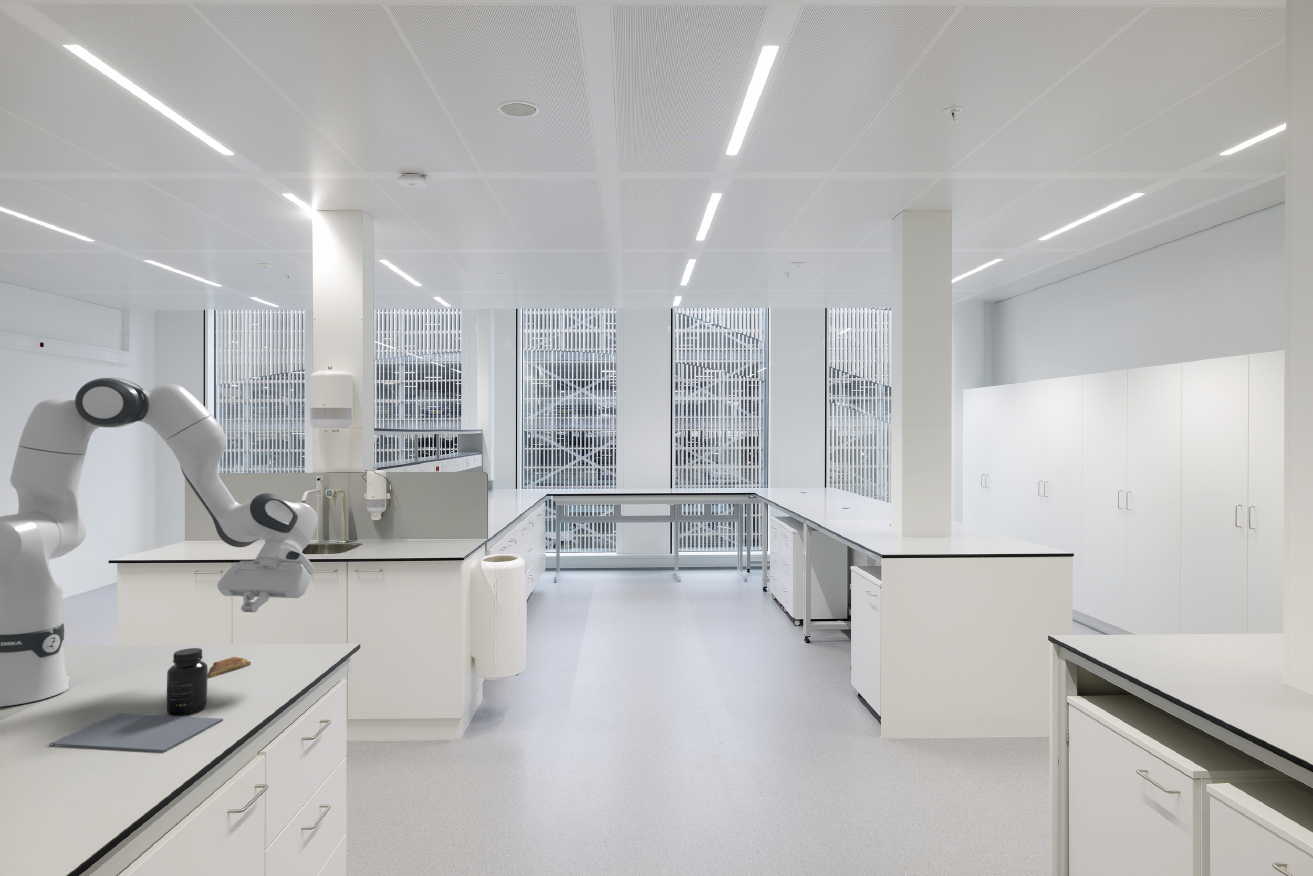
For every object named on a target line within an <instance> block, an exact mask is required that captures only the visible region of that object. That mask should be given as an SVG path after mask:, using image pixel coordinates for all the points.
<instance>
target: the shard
mask: <svg viewBox="0 0 1313 876" xmlns="http://www.w3.org/2000/svg"><path fill="white" fill-rule="evenodd" d="M251 663H252V662H251V661H250V660H249V659H247V658H242V657H237V656H231V657H228V658H225V659H221V660H218V661H215V662H213V663H212V666H211V668H210V672H209V673H208V676H211V677H210V678H213V677H212V676H214V677H216V676H215V675H217V676H219V675H218V674H220V675H222V674H221V673H223V674H225V673H224V672H226V673H228V671H229V672H231V670H232V671H234V669H235V670H238V669H241V668H240V667H242V668H244V667H243V666H245V667H247V666H246V665H248V666H250V665H249V664H251ZM237 668H238V669H237Z"/></svg>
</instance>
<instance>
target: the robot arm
mask: <svg viewBox="0 0 1313 876" xmlns="http://www.w3.org/2000/svg"><path fill="white" fill-rule="evenodd" d="M136 422H142V423H145V424H147V425H149V426H150V427H151V428H152V429H153V430H154V431H155V432H156V433H157V434H158V435H159V436H160V437H161V438H162V440H163V441H164V442H165V443H166V445H167V446H168V447H169V448H170V450H171V451H172V453H173V454H174V456H175V457H176V459H177V461H178V462H179V463H178V464H179V466H180V470H181V472H182V475H183V477H184V478H185V480H186V482H187V483H188V485H189V486H190V488H191V489H192V490H193V492H194V493H195V496H197V498H198V500H199V501H200V502H201V504H202V505H203V506H204V508H205V509H206V511H207V513H208V514H209V516H210V517H211V519H212V521H213V523H214V527H215V530H216V532H217V535H218V536H219V538H220V539H221V540H222V541H223V542H224V543H225V544H227V545H229V546H231V547H235V548H245V547H249V546H252V545H253V544H254V543H255V542H257V541H259V540H260V539H264V541H265V543H264V544H263V546H262V547H261V549H260V550H259V552H258V554H257V555H256V557H255V559H253V560H247V559H244V560H243V559H242V560H240V561H238V562H236V563H234V564H232V566H231V567H229V568H228V570H227V571H226V572H225V573H224V575H223V576H222V577H221V578H220V579H219V581H218V582H217V584H216V587H217V590H218V591H219V592H220V594H221V595H223V596H225V597H243V603H242V605H241V607H240V610H241V611H242V612H243V613H257V611H258V610H259V608H260V607H261V606H262V605H264V604H265V603H266V602H268V601H269V599H270V598H279V599H280V598H282V599H300V598H301V597H303V596H304V595H305V593H306V592H307V589H308V587H309V585H310V582H311V579H312V577H311V576H312V575H313V574H314V572H315V567H314V565H313V564H312V563H311V561H310V559H309V558H308V557H307V556H306V555H305V553H303V551H304V550H305V549H306V547H308V545H309V543H310V542H311V540H312V538H313V535H314V533H315V531H316V529H317V526H318V518H319V517H318V513H317V512H316V510H315V509H314V508H313V507H311V506H310V505H308V504H307V503H304V502H299V501H298V502H297V501H296V502H292V501H291V502H290V501H286V500H285V499H282V498H281V497H279V496H277V495H276V494H274V493H273V494H272V493H268V492H266V493H265V492H264V493H260V494H258V495H256V496H254V497H252V498H250V499H248V500H246V501H245V502H242V503H241V504H240V503H239V502H237V501H236V500H235V498H234V497H233V495H232V494H231V492H230V491H229V489H228V488H227V486H226V485H225V483H224V481H222V479H221V477H220V475H219V470H218V469H219V468H218V467H219V463H220V461H221V457H222V456H223V454H224V453H225V449H226V445H227V436H226V433H225V431H224V429H223V427H222V426H221V424H220V423H219V422H218V420H217V419H216V418H215V417H214V416H213V415H212V413H211V412H210V411H209V410H208V409H207V408H206V407H205V405H204V404H202V403H201V401H200V400H198V399H197V398H196V397H195V396H194V395H193V394H192V393H191V392H190V391H188V389H186V388H185V387H183V386H182V385H179V384H176V383H166V384H162V385H159V386H156V387H154V388H152V389H148V390H144V389H143V388H142V387H141V386H140V385H138V384H137V383H134V382H133V381H131V380H127V379H125V378H120V377H101V378H95V379H92V380H90V381H88V382H86V383H85V384H84V385H82V386H81V387H80V388H79V390H77V392H76V395H75V398H74V399H65V398H50V399H45V400H42V401H40V402H38V403H37V404H36V405H35V406H34V408H33V409H32V411H31V413H30V415H29V416H28V418H27V420H26V423H25V425H24V426H23V429H22V433H21V435H20V438H19V442H18V446H17V449H16V453H15V458H14V461H13V466H12V470H11V474H10V478H9V482H10V484H11V486H12V488H14V489H15V490H16V494H17V501H18V511H17V513H15V514H14V513H13V514H5V515H0V708H1V707H2V708H3V707H8V706H14V705H21V704H27V703H32V702H36V701H40V700H44V699H47V698H50V697H54V696H56V695H58V694H62V693H64V692H66V691H67V690H68V689H69V688H70V684H69V682H70V681H71V679H70V675H67V666H66V665H67V664H66V655H65V654H66V653H65V647H64V646H63V645H62V644H63V642H64V639H65V632H66V630H65V624H64V623H63V622H62V621H63V620H62V619H63V599H64V598H63V595H64V591H63V588H62V586H61V585H60V584H59V583H58V582H56V580H55V578H54V576H53V573H52V570H51V566H50V560H53V559H56V558H60V557H62V556H64V555H67V554H68V553H71V552H72V551H73V550H75V549H77V548H78V547H79V546H80V545H81V544H82V543H83V542H84V541H85V538H86V534H87V528H86V527H87V526H86V524H85V522H84V520H83V519H82V518H81V516H80V510H79V509H80V508H79V500H78V499H79V483H80V479H81V474H82V470H83V466H84V462H85V458H86V454H87V450H88V445H89V441H90V438H91V437H92V434H93V433H94V432H95V431H96V430H98V429H99V428H111V429H112V428H113V429H114V428H123V427H126V426H129V425H132V424H134V423H136ZM255 598H256V599H255ZM254 599H255V600H254ZM253 600H254V601H253Z"/></svg>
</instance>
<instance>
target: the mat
mask: <svg viewBox="0 0 1313 876" xmlns="http://www.w3.org/2000/svg"><path fill="white" fill-rule="evenodd" d="M223 721H224V718H219V717H218V718H215V717H214V718H213V717H197V716H171V715H164V714H163V715H161V714H160V715H159V714H142V713H140V714H139V713H138V714H137V713H126V712H125V713H122V712H118V713H117V714H114V715H112V716H110V717H109V716H108V717H107V718H105V719H103V720H100V721H98V722H96V723H93V724H91V725H89V726H87V727H84V728H81V729H80V730H77V731H74V732H72V733H70V734H68V735H66V736H63V737H61V738H59V739H56V740H55V741H52V742H50V743H49V745H51V744H52V745H61V746H60V747H65V746H73V747H72V748H82V747H88V748H87V749H99V748H100V749H101V750H117V749H122V750H121V751H134V750H135V752H136V751H138V752H152V753H153V752H154V753H166V752H167V750H168V751H169V749H170V750H171V749H174V748H175V747H177V746H179V745H180V744H183V743H184V742H186V741H188V740H190V739H192V738H195V736H198V735H199V734H202V732H204V731H205V732H206V731H207V730H208V728H209V729H210V728H212V727H215V726H216V725H218V724H219V723H221V722H223ZM206 729H207V730H206ZM100 749H99V750H100Z"/></svg>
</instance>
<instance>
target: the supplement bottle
mask: <svg viewBox="0 0 1313 876" xmlns="http://www.w3.org/2000/svg"><path fill="white" fill-rule="evenodd" d="M172 663H173V665H172V666H170V667H169V668H168V670H167V672H166V707H165V708H166V713H167V715H168V716H182V717H185V716H189V715H194V714H196V713H199V712H201V711H203V710H204V709H205V708H206V707H207V705H208V676H209V673H208V670H209V669H208V668H209V667H208V664H207V663H206V662H204V661H203V649H202V648H199V647H191V648H189V647H188V648H186V649H185V648H184V649H180V650H177V651H174V653H173V659H172Z"/></svg>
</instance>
